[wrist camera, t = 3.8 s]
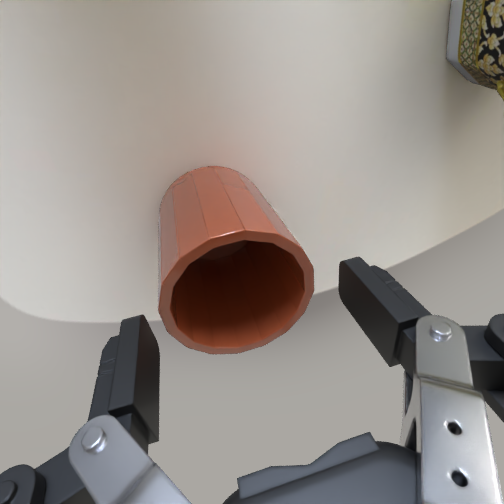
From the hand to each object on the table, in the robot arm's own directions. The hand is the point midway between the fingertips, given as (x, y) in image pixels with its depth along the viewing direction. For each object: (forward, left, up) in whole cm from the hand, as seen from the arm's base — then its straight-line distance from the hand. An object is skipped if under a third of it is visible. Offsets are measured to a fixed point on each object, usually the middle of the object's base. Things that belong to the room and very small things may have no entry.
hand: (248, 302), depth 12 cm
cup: (0, 0, -8) cm, 8 cm away
